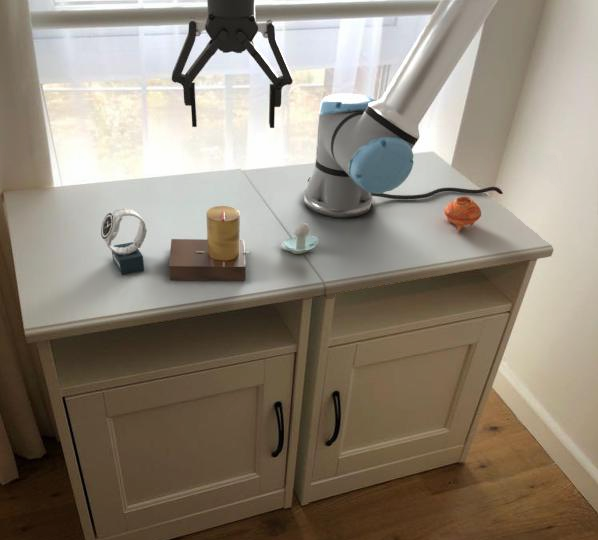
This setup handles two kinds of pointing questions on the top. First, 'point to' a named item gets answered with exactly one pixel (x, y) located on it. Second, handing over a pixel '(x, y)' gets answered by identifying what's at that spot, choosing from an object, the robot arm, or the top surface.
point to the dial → (223, 232)
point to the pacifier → (300, 241)
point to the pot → (462, 212)
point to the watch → (127, 253)
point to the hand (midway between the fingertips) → (233, 124)
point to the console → (203, 262)
